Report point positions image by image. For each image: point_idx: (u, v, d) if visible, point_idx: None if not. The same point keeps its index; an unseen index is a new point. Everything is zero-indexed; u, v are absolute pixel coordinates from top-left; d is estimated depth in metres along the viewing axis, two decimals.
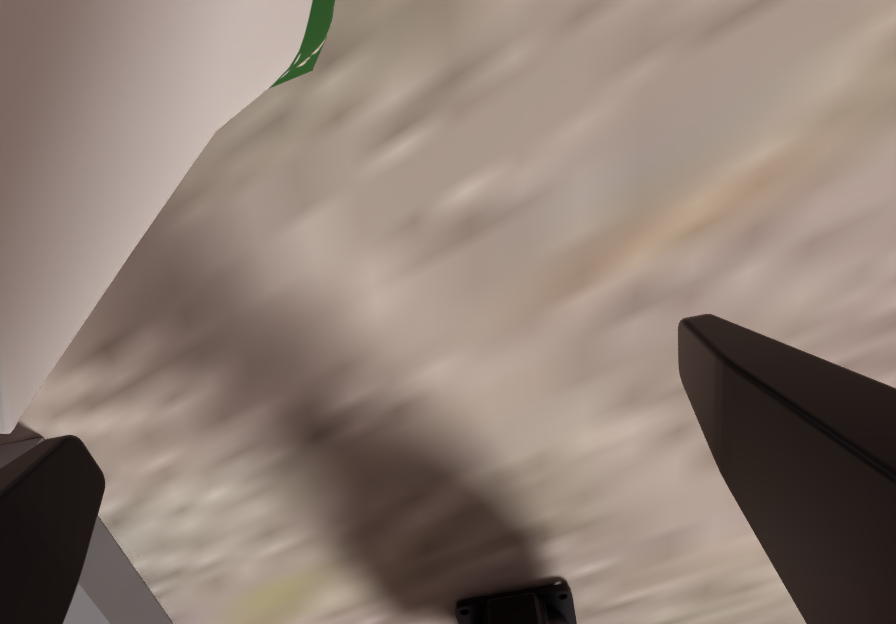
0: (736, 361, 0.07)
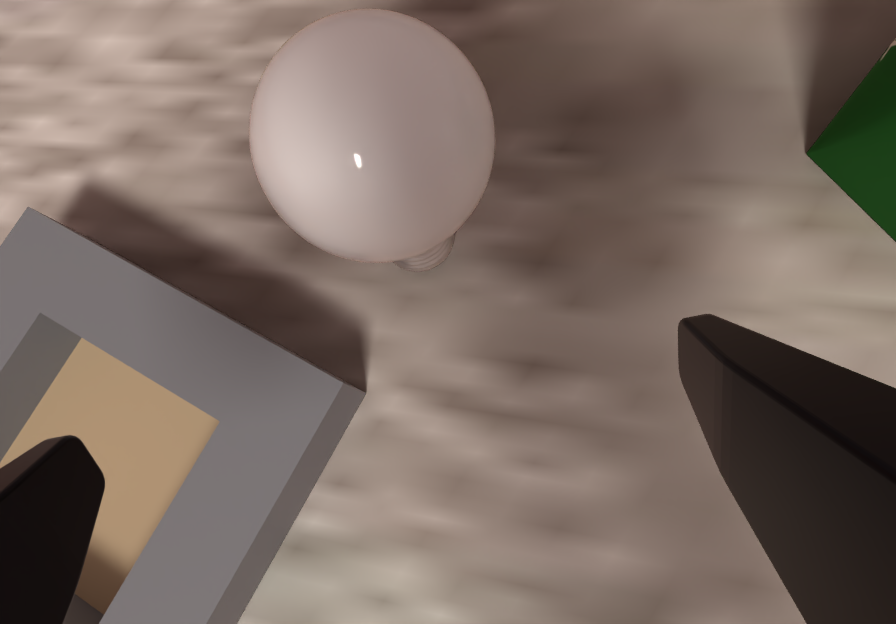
0: (736, 361, 0.07)
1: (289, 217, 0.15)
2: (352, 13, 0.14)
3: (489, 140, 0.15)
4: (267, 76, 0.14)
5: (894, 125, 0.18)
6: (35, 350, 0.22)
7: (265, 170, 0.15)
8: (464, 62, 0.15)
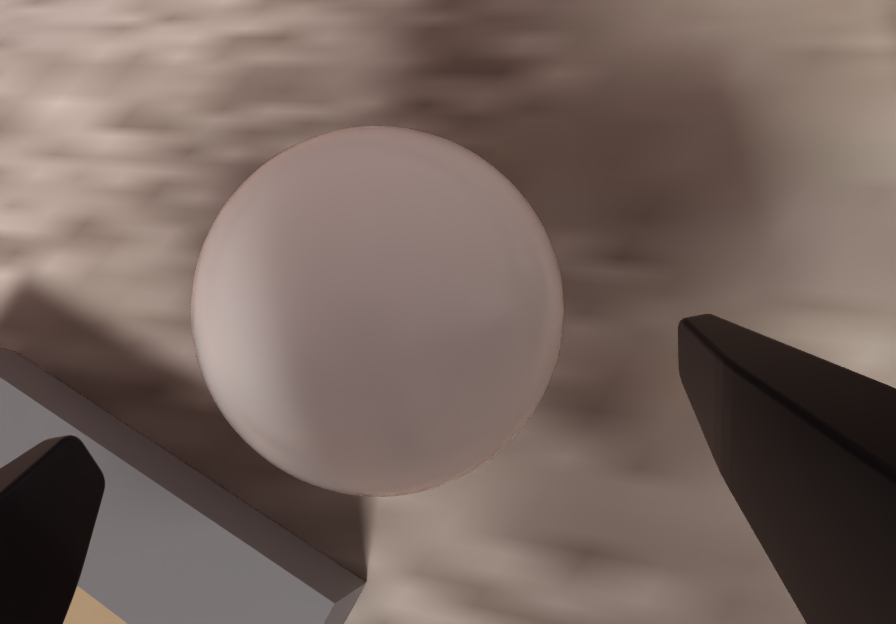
0: (736, 361, 0.07)
1: (250, 445, 0.10)
2: (351, 142, 0.09)
3: (559, 328, 0.10)
4: (215, 240, 0.09)
5: None
6: None
7: (210, 382, 0.09)
8: (524, 213, 0.09)
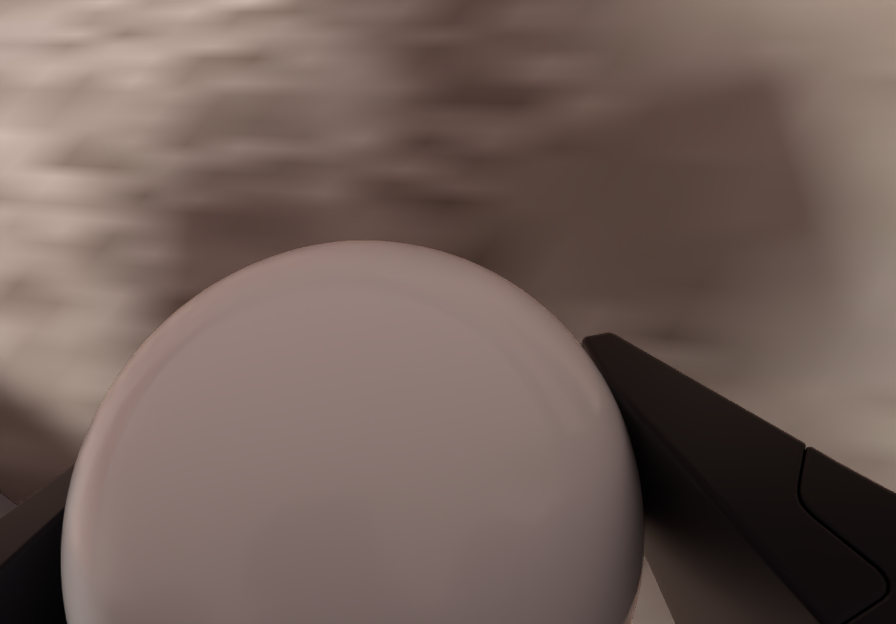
0: (617, 383, 0.07)
1: None
2: (312, 296, 0.05)
3: (642, 565, 0.06)
4: (88, 457, 0.05)
5: None
6: None
7: None
8: (593, 397, 0.06)
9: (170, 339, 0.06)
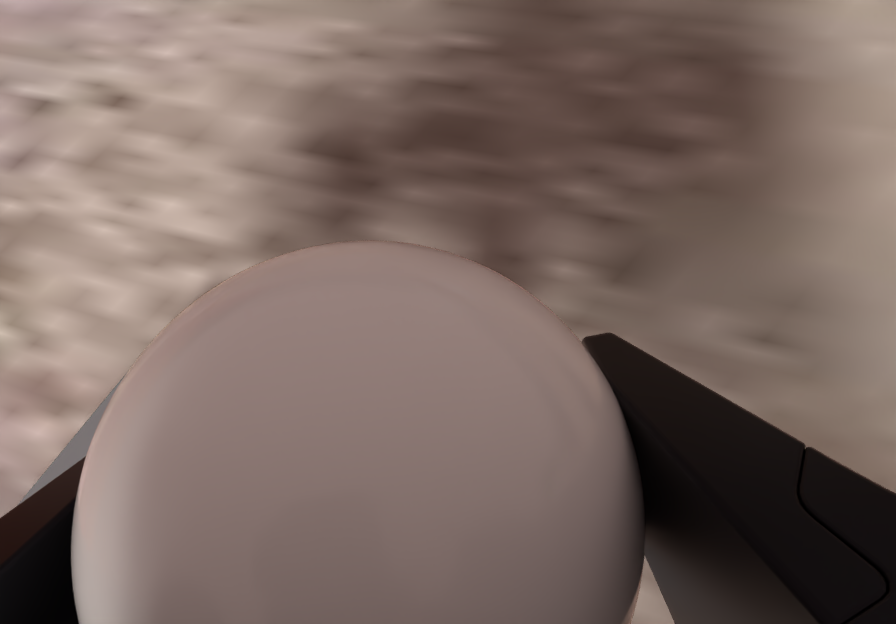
0: (617, 383, 0.07)
1: None
2: (311, 299, 0.06)
3: (643, 562, 0.06)
4: (95, 458, 0.06)
5: None
6: None
7: None
8: (591, 396, 0.06)
9: (173, 342, 0.06)
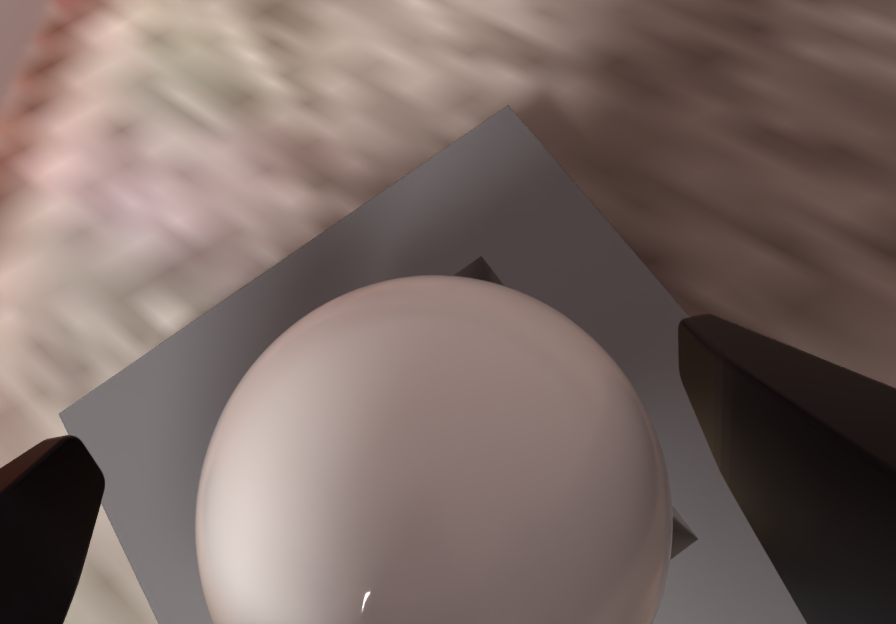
0: (736, 361, 0.07)
1: None
2: (413, 331, 0.07)
3: (671, 547, 0.08)
4: (230, 462, 0.07)
5: None
6: None
7: None
8: (633, 411, 0.07)
9: (292, 365, 0.07)
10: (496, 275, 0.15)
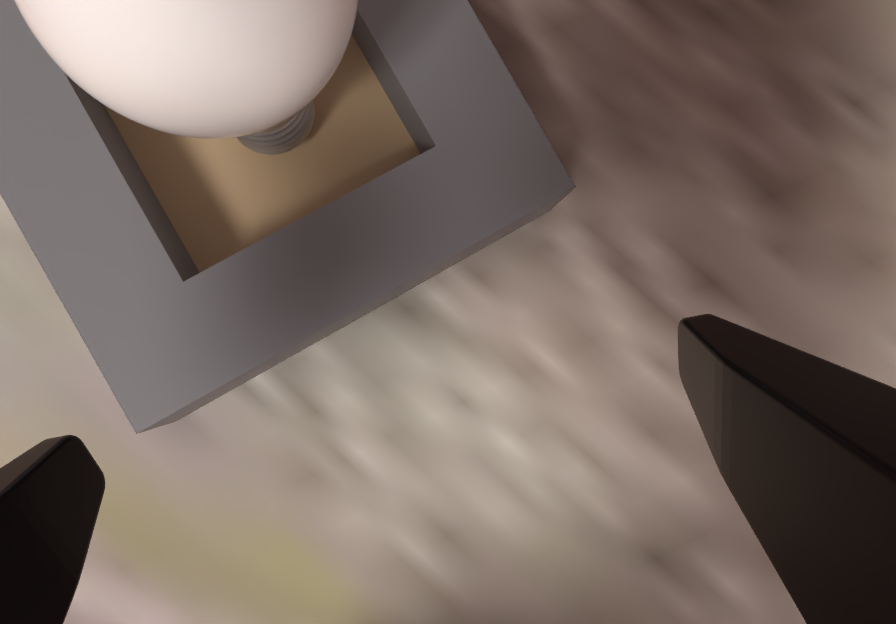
0: (736, 361, 0.07)
1: (55, 56, 0.11)
2: None
3: None
4: None
5: None
6: None
7: None
8: None
9: None
10: None
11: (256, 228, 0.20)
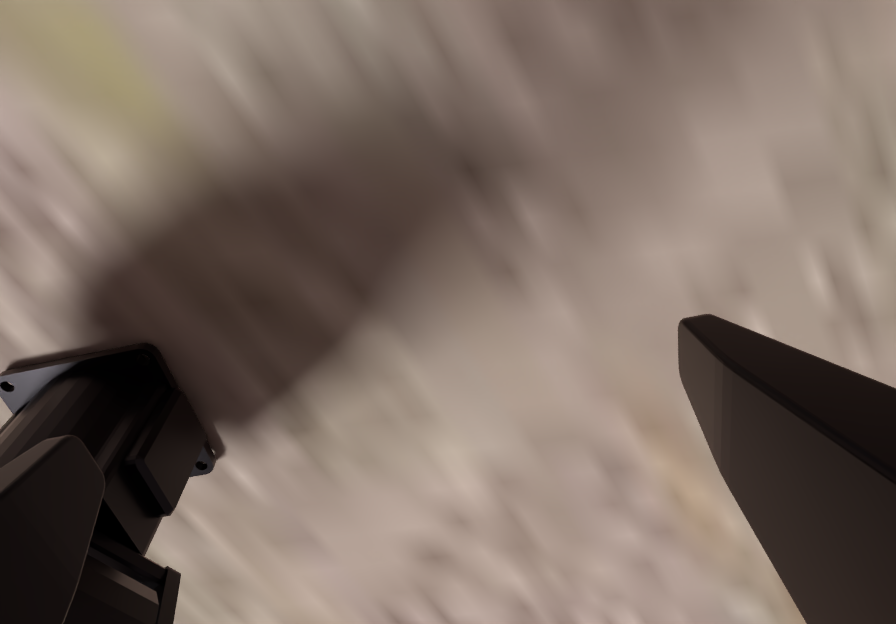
0: (736, 361, 0.07)
1: None
2: None
3: None
4: None
5: None
6: None
7: None
8: None
9: None
10: None
11: None
